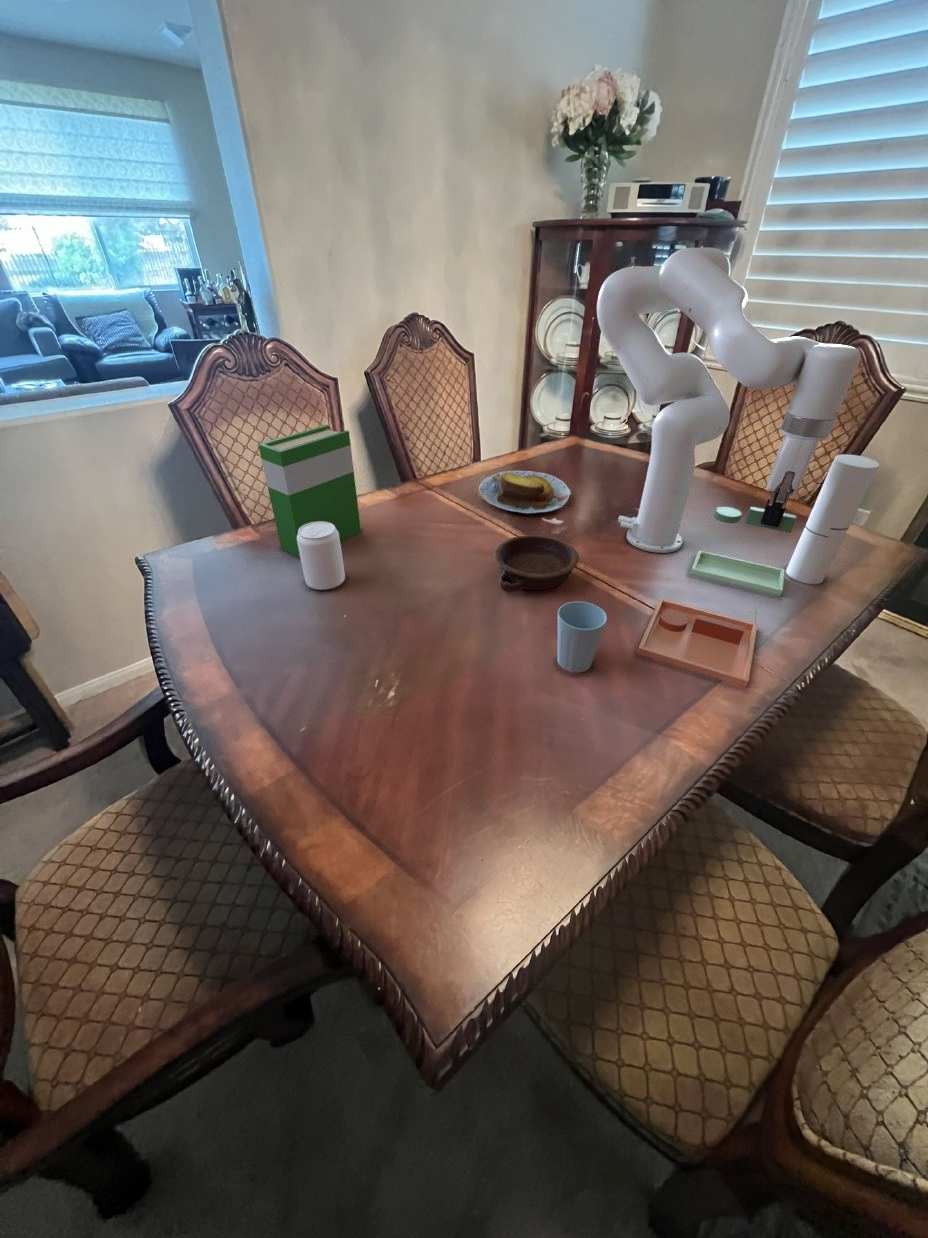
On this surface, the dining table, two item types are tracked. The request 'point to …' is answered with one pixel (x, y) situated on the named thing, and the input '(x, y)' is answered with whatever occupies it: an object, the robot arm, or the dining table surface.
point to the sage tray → (739, 573)
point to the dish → (534, 562)
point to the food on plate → (524, 491)
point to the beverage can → (321, 555)
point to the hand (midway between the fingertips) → (769, 522)
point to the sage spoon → (754, 518)
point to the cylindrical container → (831, 517)
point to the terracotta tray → (700, 645)
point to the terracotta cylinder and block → (703, 626)
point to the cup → (579, 634)
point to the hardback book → (311, 483)
